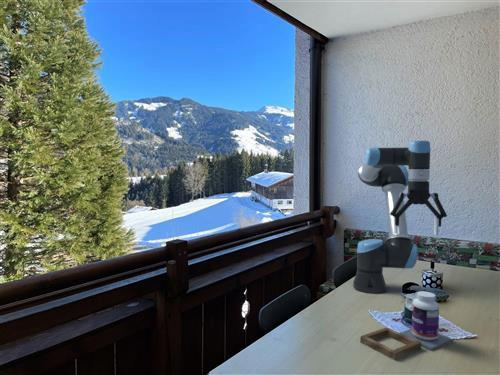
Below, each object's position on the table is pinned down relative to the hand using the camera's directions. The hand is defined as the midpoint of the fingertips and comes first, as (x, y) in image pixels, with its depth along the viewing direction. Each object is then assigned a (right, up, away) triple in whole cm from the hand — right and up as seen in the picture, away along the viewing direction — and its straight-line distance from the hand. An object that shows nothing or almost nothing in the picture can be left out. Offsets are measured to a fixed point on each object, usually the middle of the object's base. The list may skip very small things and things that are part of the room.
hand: (417, 234), depth 140 cm
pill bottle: (-7, -32, -20) cm, 38 cm away
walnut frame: (-21, -32, -25) cm, 46 cm away
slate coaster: (-7, -32, -20) cm, 39 cm away
